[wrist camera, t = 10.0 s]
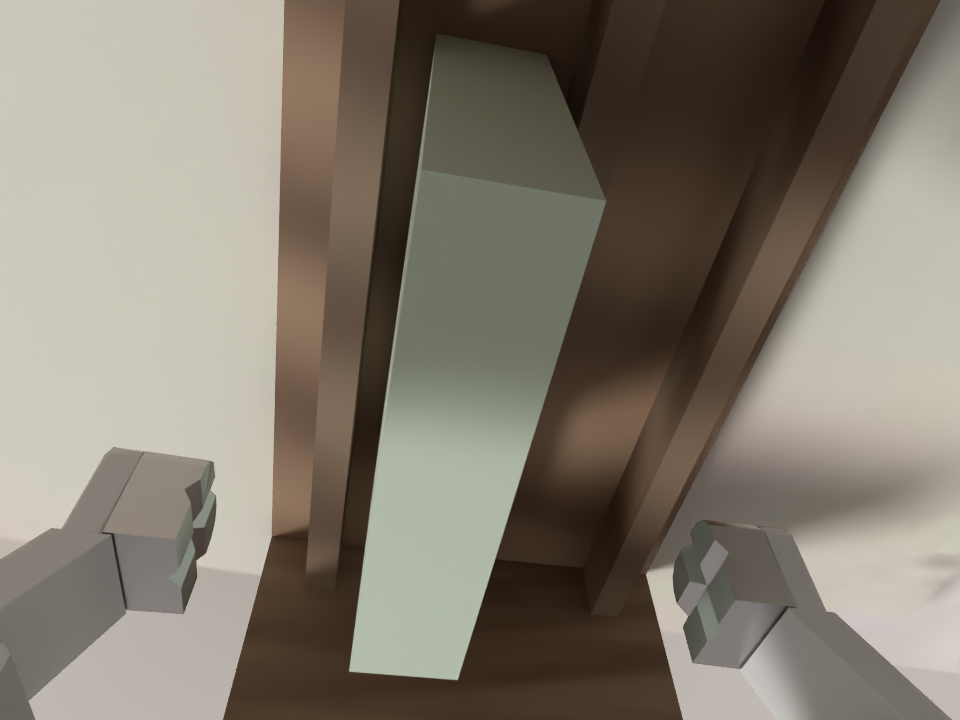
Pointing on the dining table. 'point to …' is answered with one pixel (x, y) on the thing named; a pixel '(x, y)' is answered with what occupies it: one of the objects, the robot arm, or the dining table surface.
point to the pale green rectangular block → (470, 346)
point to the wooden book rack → (590, 332)
